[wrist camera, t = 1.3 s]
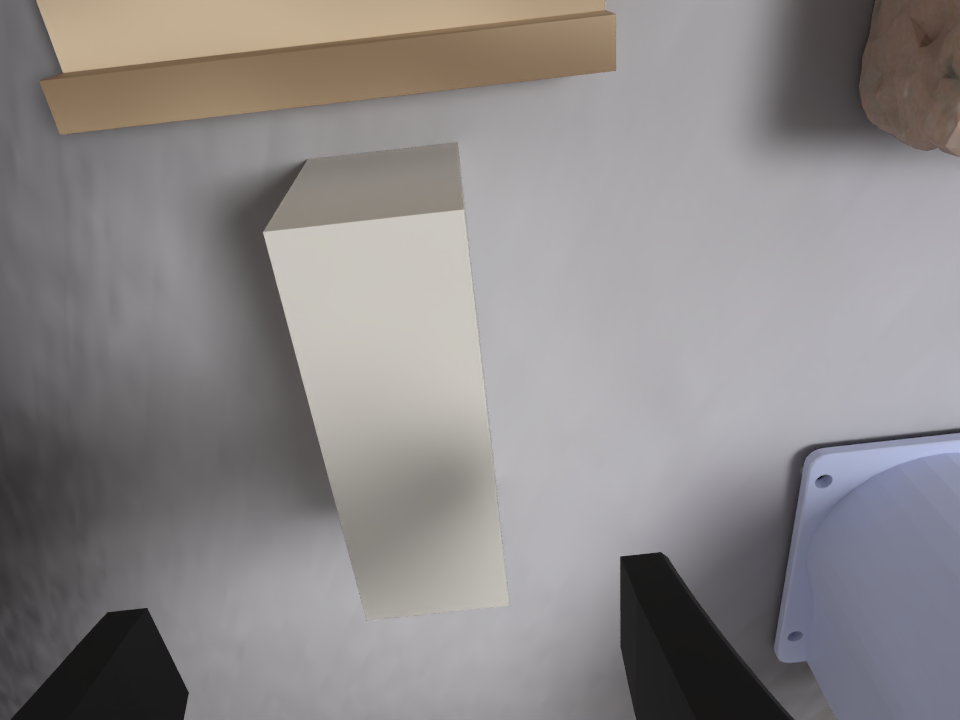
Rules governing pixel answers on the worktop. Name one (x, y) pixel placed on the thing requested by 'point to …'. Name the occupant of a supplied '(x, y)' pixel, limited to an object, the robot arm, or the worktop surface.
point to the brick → (914, 72)
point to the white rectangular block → (395, 373)
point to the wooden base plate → (302, 53)
